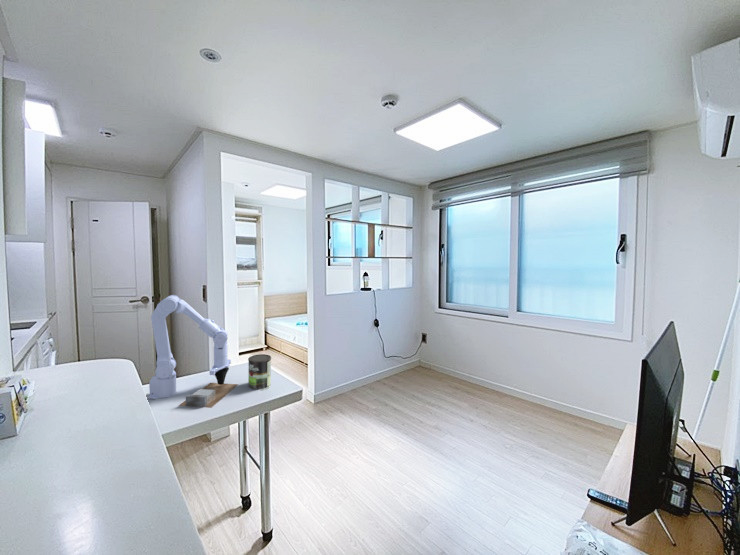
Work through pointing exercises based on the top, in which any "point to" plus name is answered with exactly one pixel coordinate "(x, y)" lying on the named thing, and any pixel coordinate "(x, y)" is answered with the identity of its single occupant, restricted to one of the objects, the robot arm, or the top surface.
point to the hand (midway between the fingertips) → (220, 383)
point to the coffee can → (259, 371)
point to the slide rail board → (218, 392)
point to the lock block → (206, 394)
